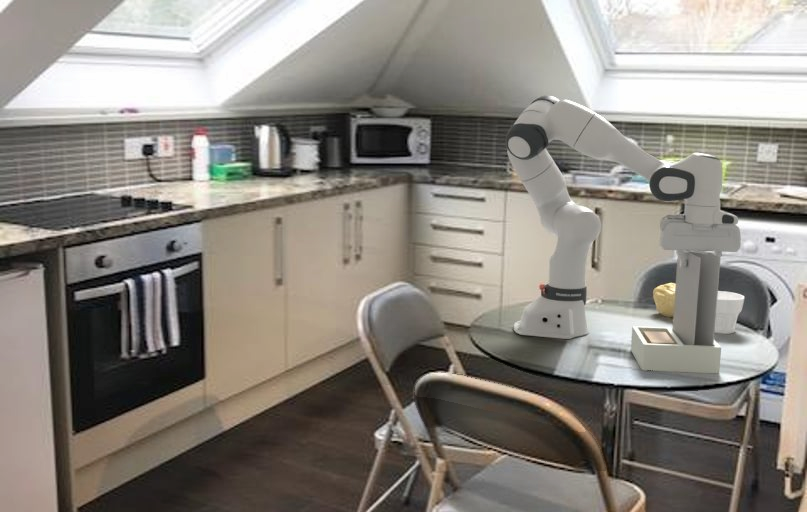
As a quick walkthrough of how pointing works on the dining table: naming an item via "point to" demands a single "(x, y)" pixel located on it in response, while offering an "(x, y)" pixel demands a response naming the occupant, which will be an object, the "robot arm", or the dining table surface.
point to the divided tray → (673, 353)
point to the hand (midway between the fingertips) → (697, 267)
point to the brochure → (696, 298)
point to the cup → (727, 311)
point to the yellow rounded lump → (665, 299)
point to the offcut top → (657, 337)
